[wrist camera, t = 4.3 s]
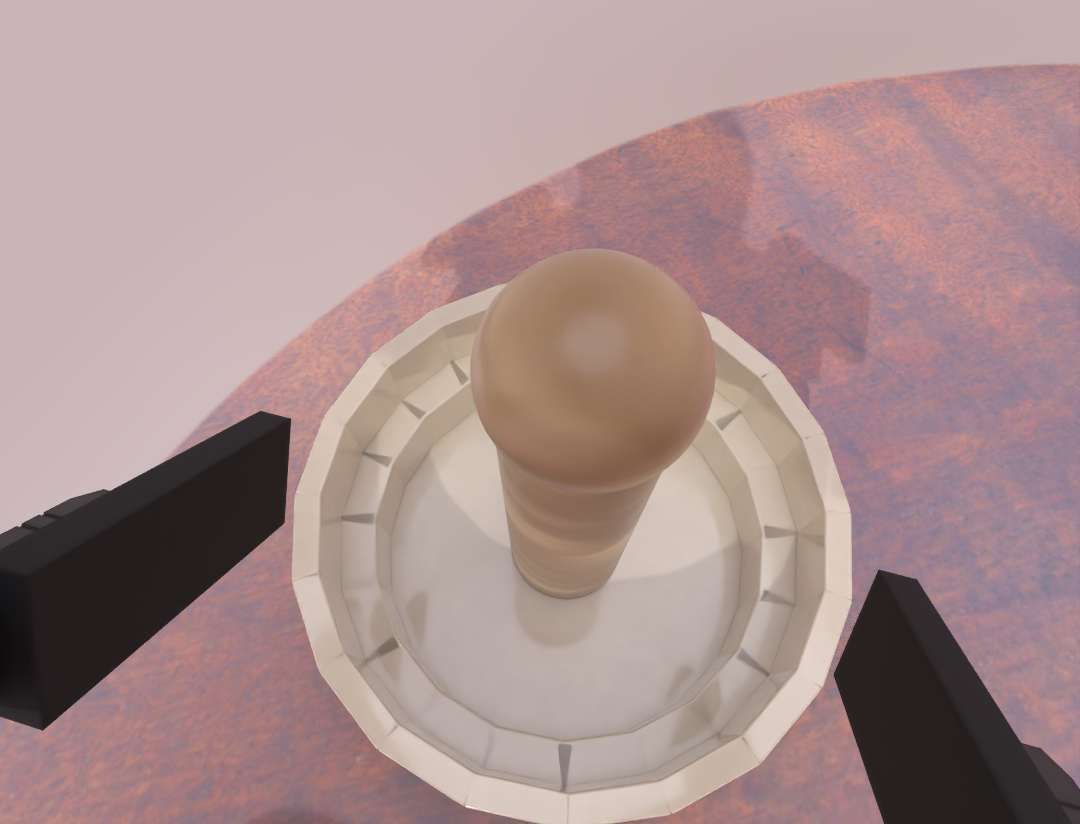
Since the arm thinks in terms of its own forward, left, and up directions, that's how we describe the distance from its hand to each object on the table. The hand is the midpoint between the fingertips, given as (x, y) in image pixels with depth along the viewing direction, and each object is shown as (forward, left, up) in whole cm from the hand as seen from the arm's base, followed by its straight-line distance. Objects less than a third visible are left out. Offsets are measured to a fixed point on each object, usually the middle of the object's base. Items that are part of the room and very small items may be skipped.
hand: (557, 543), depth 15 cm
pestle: (+1, +2, -10) cm, 10 cm away
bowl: (+1, +2, -10) cm, 11 cm away
